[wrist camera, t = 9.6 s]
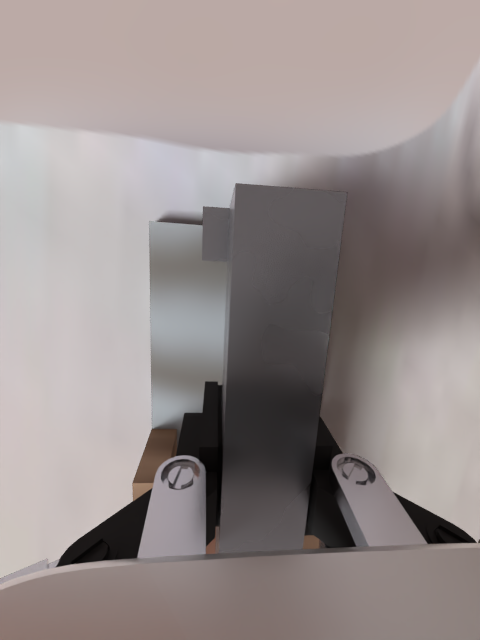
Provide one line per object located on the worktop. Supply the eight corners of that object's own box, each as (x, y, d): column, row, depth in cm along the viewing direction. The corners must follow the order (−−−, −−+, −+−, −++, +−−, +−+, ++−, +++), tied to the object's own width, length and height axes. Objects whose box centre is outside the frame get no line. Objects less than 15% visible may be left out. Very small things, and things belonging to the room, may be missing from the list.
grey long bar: (194, 226, 14) (160, 177, 6) (299, 233, 14) (413, 197, 6) (188, 571, 18) (165, 824, 10) (268, 567, 19) (307, 805, 11)
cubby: (153, 222, 15) (122, 210, 10) (332, 236, 16) (384, 231, 11) (157, 609, 22) (140, 711, 17) (279, 603, 23) (295, 696, 18)
